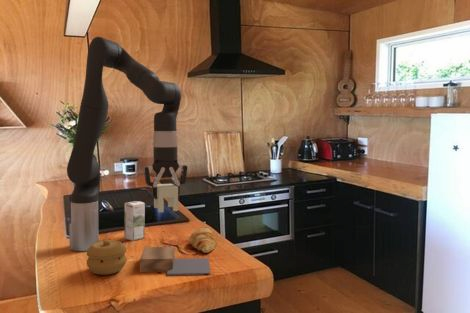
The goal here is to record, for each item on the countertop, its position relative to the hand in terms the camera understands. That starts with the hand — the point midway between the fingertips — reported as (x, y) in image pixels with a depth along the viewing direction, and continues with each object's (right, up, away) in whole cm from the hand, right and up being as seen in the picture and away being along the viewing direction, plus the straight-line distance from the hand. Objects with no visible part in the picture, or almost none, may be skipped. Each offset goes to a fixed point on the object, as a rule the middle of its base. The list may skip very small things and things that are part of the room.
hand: (165, 197), depth 124 cm
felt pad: (+7, -22, 0) cm, 23 cm away
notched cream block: (0, -4, 0) cm, 4 cm away
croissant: (+10, -21, +22) cm, 32 cm away
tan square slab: (-3, -22, +2) cm, 22 cm away
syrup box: (-18, -20, +30) cm, 40 cm away
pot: (-17, -22, -5) cm, 29 cm away
